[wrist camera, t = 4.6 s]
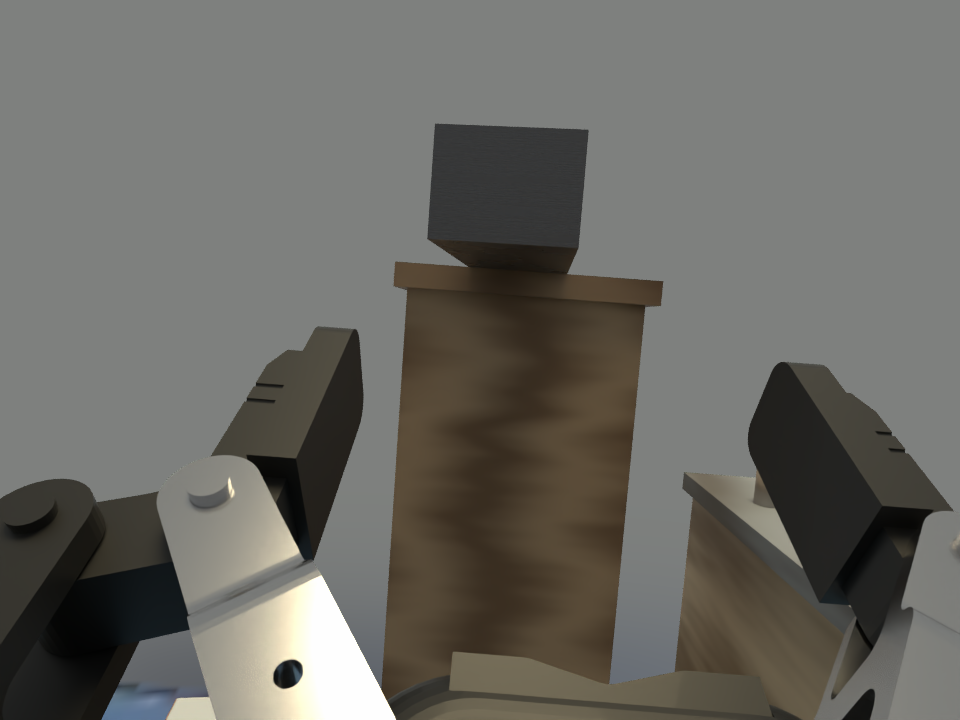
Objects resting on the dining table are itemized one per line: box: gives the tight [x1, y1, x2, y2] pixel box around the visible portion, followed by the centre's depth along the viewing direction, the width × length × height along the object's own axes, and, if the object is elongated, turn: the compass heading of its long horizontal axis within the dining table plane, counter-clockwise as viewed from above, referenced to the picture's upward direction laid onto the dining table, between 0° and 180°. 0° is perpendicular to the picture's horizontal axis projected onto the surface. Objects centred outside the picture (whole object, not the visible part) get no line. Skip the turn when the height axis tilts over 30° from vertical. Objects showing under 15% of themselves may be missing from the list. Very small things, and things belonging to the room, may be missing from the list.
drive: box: [427, 124, 588, 274], centre depth 26 cm, size 4×22×3 cm, turn 173°
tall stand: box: [381, 262, 663, 701], centre depth 31 cm, size 11×11×32 cm
